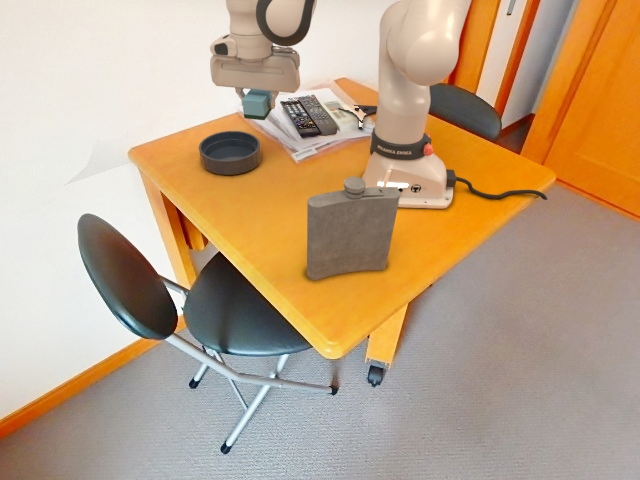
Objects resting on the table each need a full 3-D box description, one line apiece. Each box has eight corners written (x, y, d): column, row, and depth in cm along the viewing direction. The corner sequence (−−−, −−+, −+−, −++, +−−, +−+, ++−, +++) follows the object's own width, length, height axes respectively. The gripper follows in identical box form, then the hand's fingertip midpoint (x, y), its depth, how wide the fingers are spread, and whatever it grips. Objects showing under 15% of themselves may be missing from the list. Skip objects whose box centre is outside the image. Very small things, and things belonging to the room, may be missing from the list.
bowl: (268, 149, 110) (267, 134, 107) (249, 180, 99) (248, 164, 96) (215, 142, 112) (213, 127, 109) (191, 171, 101) (188, 156, 98)
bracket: (336, 129, 120) (337, 120, 118) (339, 107, 131) (339, 99, 129) (384, 132, 120) (385, 123, 118) (382, 110, 131) (383, 102, 129)
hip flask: (308, 281, 75) (309, 195, 61) (304, 265, 78) (304, 180, 64) (388, 269, 78) (405, 184, 64) (381, 254, 81) (396, 171, 67)
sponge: (254, 105, 99) (252, 86, 96) (273, 106, 98) (272, 88, 95) (244, 118, 93) (241, 99, 90) (264, 120, 93) (262, 101, 89)
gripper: (302, 43, 86) (304, 105, 95) (214, 36, 89) (223, 97, 98) (295, 52, 81) (297, 116, 91) (202, 45, 84) (213, 108, 94)
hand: (258, 106), depth 95 cm, fingers closed on sponge, 5 cm apart
